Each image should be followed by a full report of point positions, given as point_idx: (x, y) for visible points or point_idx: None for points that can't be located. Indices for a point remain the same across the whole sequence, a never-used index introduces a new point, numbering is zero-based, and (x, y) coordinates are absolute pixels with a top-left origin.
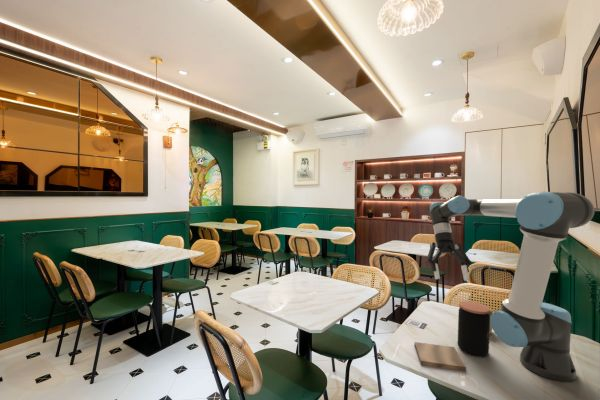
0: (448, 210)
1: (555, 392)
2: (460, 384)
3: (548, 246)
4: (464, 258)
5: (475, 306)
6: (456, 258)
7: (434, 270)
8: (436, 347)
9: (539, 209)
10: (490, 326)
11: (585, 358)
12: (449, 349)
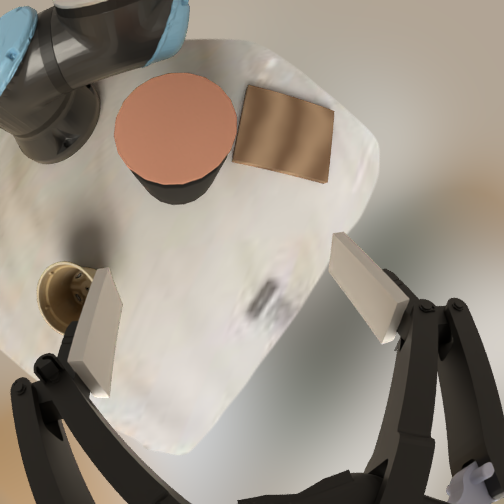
0: None
1: None
2: (277, 60)
3: None
4: (55, 445)
5: (171, 119)
6: (142, 461)
7: (385, 269)
8: (283, 156)
9: None
10: (71, 268)
11: None
12: (252, 148)
